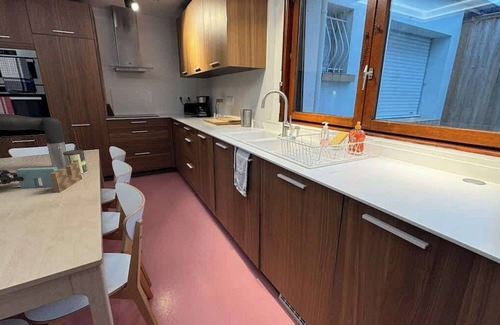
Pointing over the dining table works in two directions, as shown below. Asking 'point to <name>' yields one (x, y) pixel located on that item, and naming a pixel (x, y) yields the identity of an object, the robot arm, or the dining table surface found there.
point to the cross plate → (35, 176)
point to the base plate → (66, 177)
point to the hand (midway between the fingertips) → (29, 176)
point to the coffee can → (76, 159)
